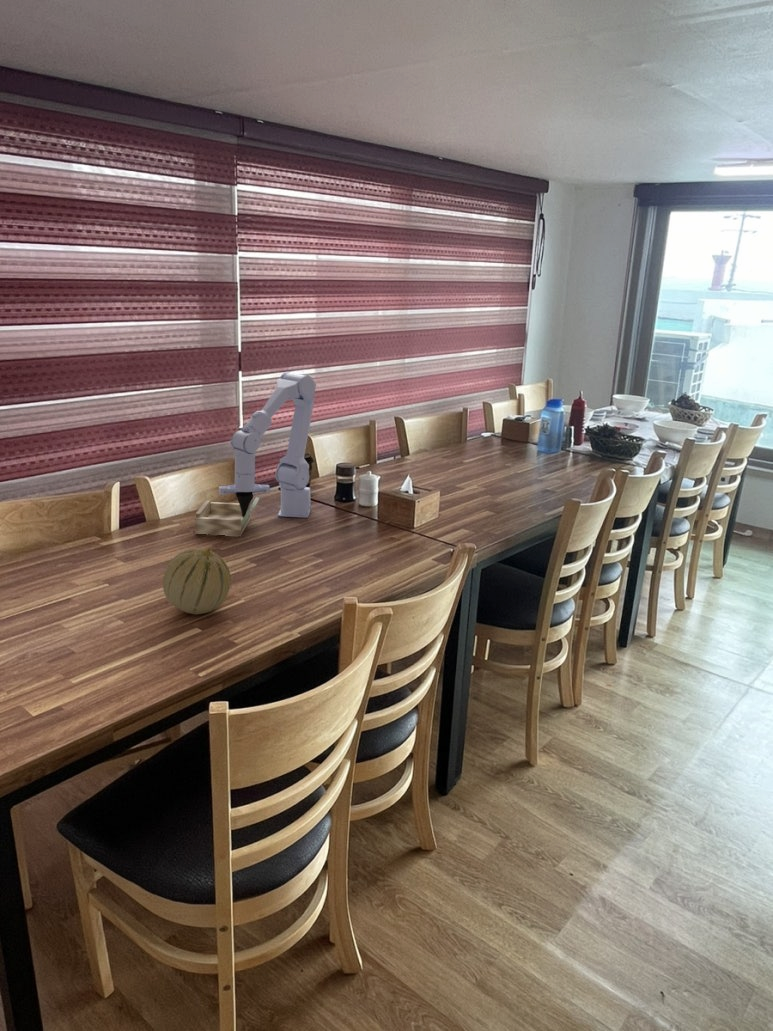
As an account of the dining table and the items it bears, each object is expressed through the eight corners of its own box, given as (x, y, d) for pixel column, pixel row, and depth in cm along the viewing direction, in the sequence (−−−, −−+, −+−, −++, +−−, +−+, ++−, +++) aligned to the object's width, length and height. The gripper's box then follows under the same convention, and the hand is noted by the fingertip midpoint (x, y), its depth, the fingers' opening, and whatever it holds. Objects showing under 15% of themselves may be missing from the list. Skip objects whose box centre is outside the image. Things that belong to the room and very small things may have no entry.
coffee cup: (315, 488, 257) (316, 453, 253) (311, 495, 249) (311, 459, 245) (291, 486, 258) (291, 451, 254) (286, 493, 250) (286, 457, 246)
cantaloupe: (152, 608, 165) (148, 546, 160) (209, 590, 174) (207, 532, 170) (186, 632, 155) (183, 567, 150) (244, 612, 165) (243, 551, 160)
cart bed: (250, 519, 224) (249, 500, 222) (240, 536, 209) (239, 517, 207) (208, 517, 224) (207, 498, 222) (195, 534, 209) (194, 514, 207)
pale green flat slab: (249, 514, 222) (259, 498, 220) (241, 527, 210) (252, 511, 209) (246, 512, 221) (256, 496, 220) (238, 525, 210) (248, 509, 208)
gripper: (266, 467, 217) (265, 510, 222) (217, 469, 212) (217, 513, 216) (271, 474, 211) (270, 518, 215) (221, 475, 206) (221, 520, 210)
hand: (244, 516), depth 215 cm, fingers closed, pressing on pale green flat slab
